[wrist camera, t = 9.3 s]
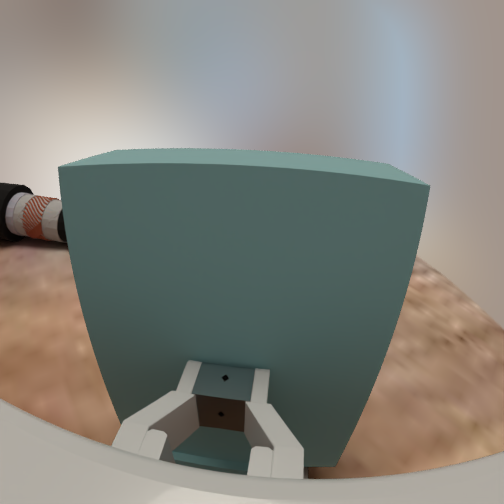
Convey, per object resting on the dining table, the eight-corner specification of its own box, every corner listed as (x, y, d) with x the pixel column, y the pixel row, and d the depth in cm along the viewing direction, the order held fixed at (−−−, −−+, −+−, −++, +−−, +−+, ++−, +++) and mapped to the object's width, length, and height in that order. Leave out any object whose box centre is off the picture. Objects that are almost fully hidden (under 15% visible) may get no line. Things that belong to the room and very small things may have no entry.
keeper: (326, 488, 14) (437, 190, 7) (133, 463, 14) (48, 170, 8) (323, 423, 18) (384, 162, 12) (157, 404, 19) (121, 148, 13)
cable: (125, 281, 45) (108, 236, 37) (-15, 244, 46) (-38, 208, 38) (147, 231, 52) (138, 184, 44) (10, 207, 53) (-8, 171, 45)
